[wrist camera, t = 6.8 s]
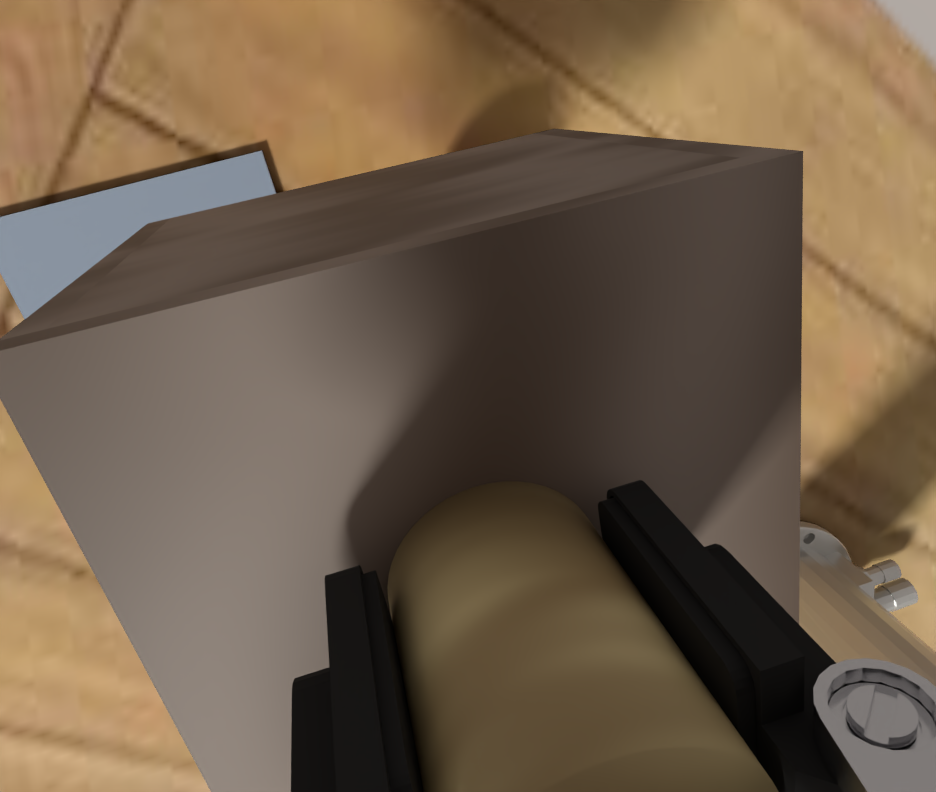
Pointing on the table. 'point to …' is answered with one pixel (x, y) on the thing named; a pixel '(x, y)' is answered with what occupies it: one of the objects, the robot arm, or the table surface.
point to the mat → (112, 223)
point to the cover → (438, 446)
